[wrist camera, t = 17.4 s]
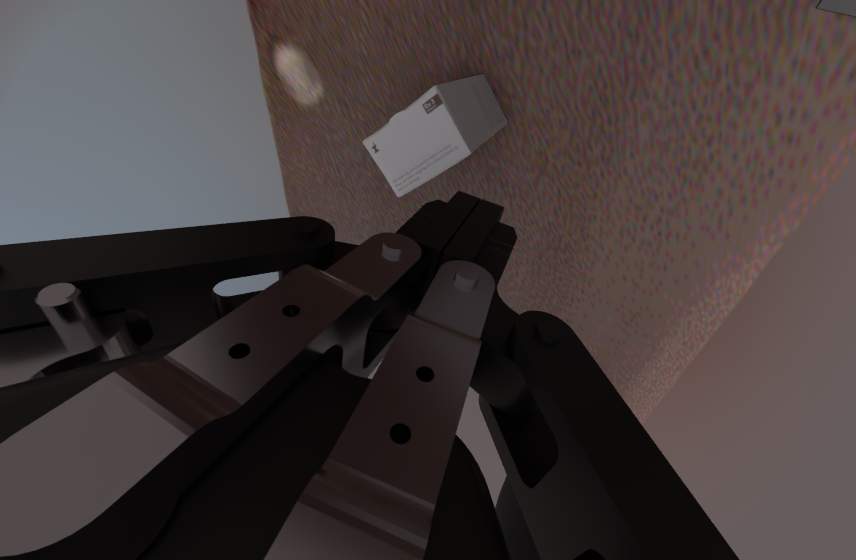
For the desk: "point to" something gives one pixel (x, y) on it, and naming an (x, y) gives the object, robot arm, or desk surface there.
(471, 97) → the skincare box
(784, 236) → the desk surface
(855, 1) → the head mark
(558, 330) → the robot arm
